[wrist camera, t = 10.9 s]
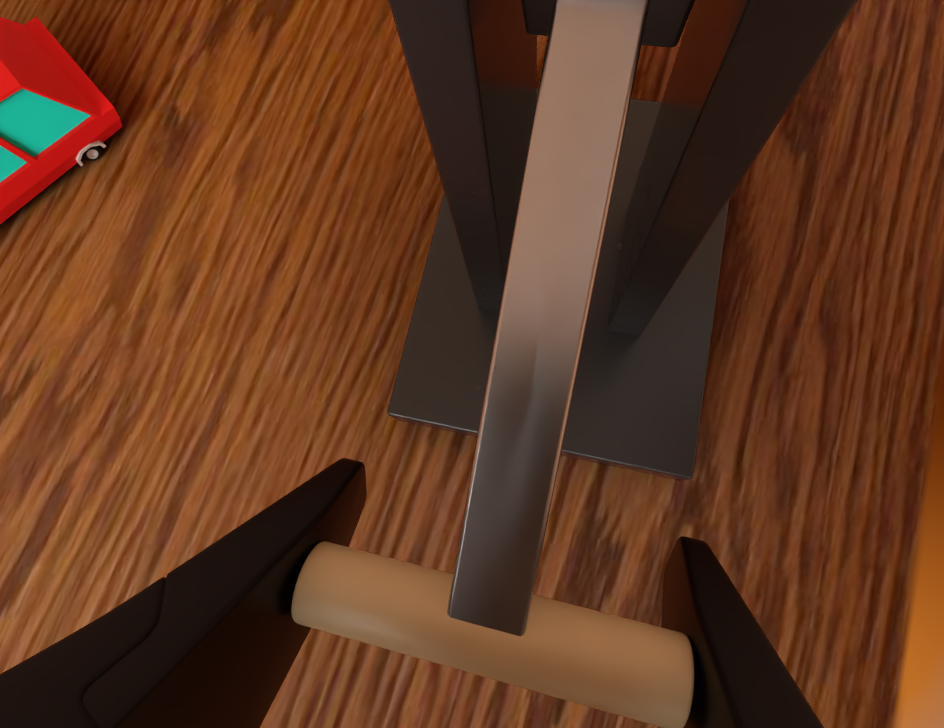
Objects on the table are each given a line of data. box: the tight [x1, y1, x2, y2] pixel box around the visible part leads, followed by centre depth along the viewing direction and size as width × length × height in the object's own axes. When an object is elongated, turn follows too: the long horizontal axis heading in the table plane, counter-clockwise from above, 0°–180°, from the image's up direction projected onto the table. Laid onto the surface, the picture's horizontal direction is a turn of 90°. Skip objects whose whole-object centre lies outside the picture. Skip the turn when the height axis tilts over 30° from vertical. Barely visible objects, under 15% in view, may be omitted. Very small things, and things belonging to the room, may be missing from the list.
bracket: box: [387, 0, 858, 480], centre depth 12 cm, size 12×9×14 cm
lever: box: [291, 0, 695, 728], centre depth 7 cm, size 12×6×2 cm, turn 167°
